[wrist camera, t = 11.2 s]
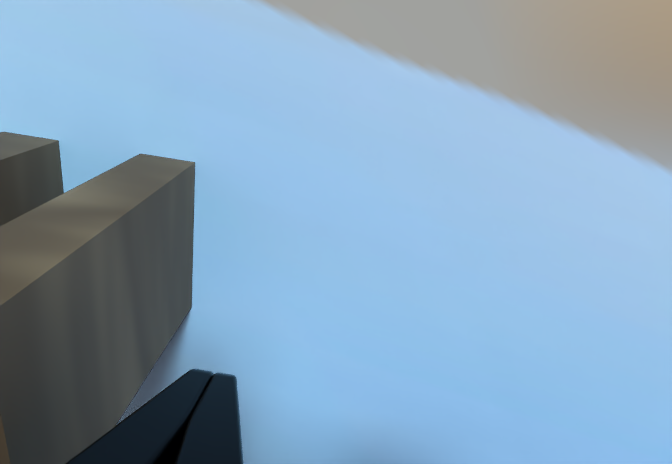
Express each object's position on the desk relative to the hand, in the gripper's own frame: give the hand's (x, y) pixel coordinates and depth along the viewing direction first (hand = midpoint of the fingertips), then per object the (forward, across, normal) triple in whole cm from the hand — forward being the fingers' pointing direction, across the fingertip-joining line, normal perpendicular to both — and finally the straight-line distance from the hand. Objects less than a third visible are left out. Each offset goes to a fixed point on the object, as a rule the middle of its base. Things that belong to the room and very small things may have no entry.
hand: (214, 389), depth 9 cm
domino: (+6, +3, 0) cm, 7 cm away
